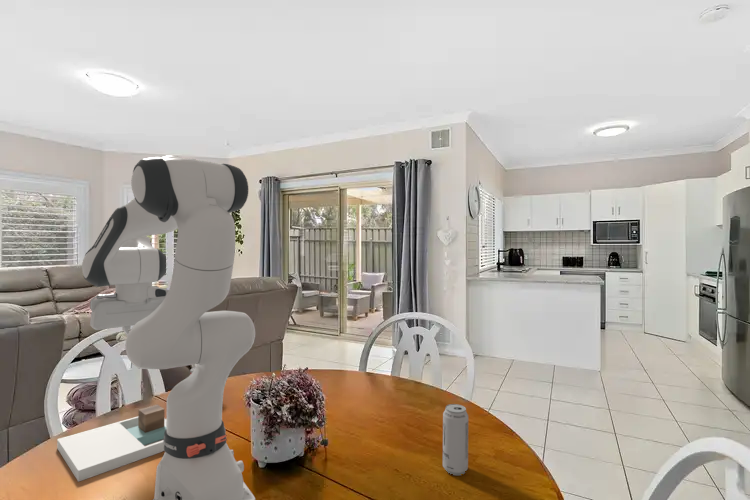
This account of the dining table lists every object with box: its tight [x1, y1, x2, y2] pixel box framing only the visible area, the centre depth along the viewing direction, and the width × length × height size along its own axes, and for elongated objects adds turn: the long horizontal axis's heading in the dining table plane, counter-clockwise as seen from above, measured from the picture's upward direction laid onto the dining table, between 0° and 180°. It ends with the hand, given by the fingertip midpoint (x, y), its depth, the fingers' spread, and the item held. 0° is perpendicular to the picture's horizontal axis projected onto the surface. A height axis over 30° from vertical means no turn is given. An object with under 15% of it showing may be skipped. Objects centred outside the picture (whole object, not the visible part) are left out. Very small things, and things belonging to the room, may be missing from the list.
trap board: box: [56, 416, 167, 482], centre depth 106 cm, size 22×24×2 cm
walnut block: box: [137, 404, 165, 433], centre depth 112 cm, size 5×5×5 cm
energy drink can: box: [442, 403, 469, 476], centre depth 96 cm, size 6×6×15 cm
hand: (133, 340), depth 112 cm, fingers closed
